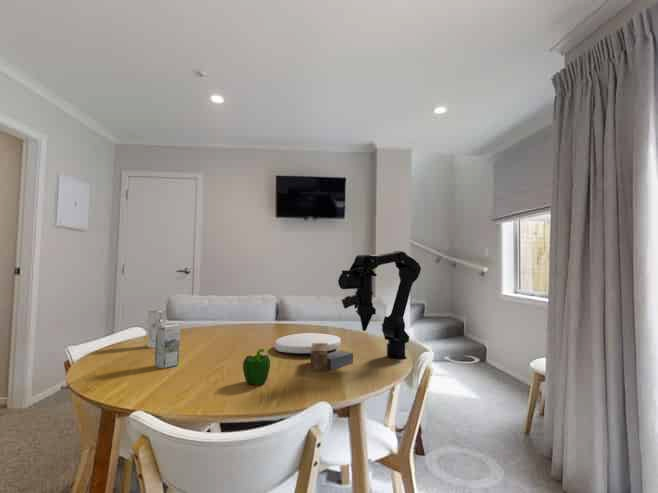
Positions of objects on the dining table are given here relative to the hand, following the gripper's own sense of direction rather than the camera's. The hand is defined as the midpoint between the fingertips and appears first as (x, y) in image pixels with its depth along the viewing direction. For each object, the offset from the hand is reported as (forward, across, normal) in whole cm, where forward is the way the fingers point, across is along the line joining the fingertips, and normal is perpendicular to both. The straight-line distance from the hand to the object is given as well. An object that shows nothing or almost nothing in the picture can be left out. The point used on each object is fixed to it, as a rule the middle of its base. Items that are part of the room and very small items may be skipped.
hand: (364, 330), depth 129 cm
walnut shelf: (+12, +4, -16) cm, 20 cm away
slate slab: (+12, +2, -10) cm, 16 cm away
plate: (+12, -20, -22) cm, 32 cm away
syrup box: (+12, +6, -70) cm, 71 cm away
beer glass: (+12, -22, -88) cm, 92 cm away
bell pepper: (+12, +22, -35) cm, 43 cm away
